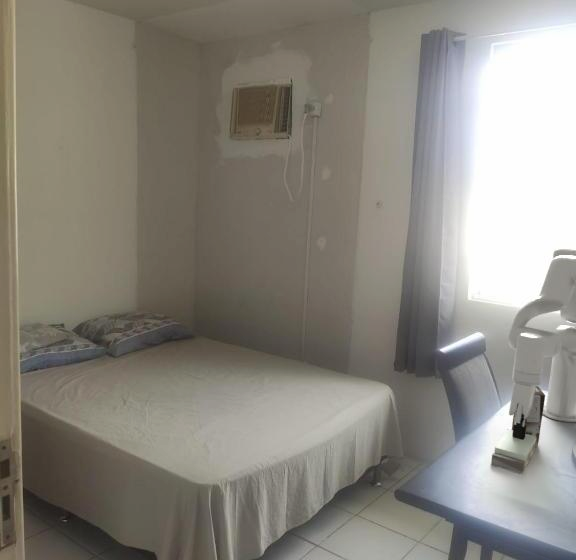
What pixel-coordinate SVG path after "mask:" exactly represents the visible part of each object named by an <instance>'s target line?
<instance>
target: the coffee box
mask: <svg viewBox="0 0 576 560" xmlns="http://www.w3.org/2000/svg"><path fill="white" fill-rule="evenodd" d="M545 400H546V395H545V393H544V392H543V391H542V389H541V388H540V387H539V385H538V386H536V388H535V396H534V403H533V408H532V411H531V413H530V415H529V416H528V417H527V423H526V425H527V427H526V434H529V435H533V436H536V442H535V447H536V448H538V447H539V442H540V436H541V435H540V434H541V428H542V427H541V426H542V422H543V421H542V419H543V408H544V406H545ZM512 416H513V417H512V423H511V424H512V425H511V430H513V427H514V421H515V413H514V414H513V415H512Z"/></svg>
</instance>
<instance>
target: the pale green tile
mask: <svg viewBox="0 0 576 560" xmlns="http://www.w3.org/2000/svg"><path fill="white" fill-rule="evenodd" d="M512 434H513V430H512V429H506V431H505V432H504V434H503V435H502V436H501V438H500V440H499V441H498V443H497V444H496V445H495V447H494V453H498V454H501V455H505V456H508V457H512V458H515V459H519V460H522V461H526V459H527V457H528V455H529V453H530V451H531V449H532V447H533V446H534V444H535V442H536V436H533V435H529V434H525V438H524V440H521V439H518V438H514V437H512Z"/></svg>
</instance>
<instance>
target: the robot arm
mask: <svg viewBox="0 0 576 560" xmlns="http://www.w3.org/2000/svg"><path fill="white" fill-rule="evenodd" d="M552 257H553V258H552V261H550V264H549V267H548V270H547V272H546V276H545V278H544V282H543V285H542V287H541V290H540V293H539V295H538V297H536V298H534V299H532V300H530V301H529V302H527V303H526V304H524V306H522V308H521V309H520V310H519V311H518V312H517V313H516V315H515V317H514V319H513V322H512V325H511V328H510V330H509V334H508V340H507V341H508V345H509V347H510V348H511V349H513V350H515V351H514V352H515V353H514V354H515V355H514V361H513V362H514V363H513V369H512V378H511V380H512V381H513V382H514V383H513V387H512V393H511V397H510V398H511V399H510V406H509V410H508V415H509V416H513V415H514V413H515V421H514V427H513V434H512V437H514V438H518V439H521V440H524V438H525V434H526V427H527V425H526V423H527V417H528V416H529V415H530V413H531V411H532V408H533V403H534V396H535V388H536V386H538V387H539V386H540V385H541V384H542V383H541V382H542V374H543V367H544V360H545V359H550V358H552V360H551V361H552V362H551V367H550V376H549V381H548V382H549V383H548V389H547V397H546V405H544V408H543V414H542V416H545V417H547V418H549V419H552V420H555V421H558V422H559V421H560V422H566V423H576V326H574V325H559V326H558V327H556V328H554V331H547V330H543V329H538V328H533V327H529V326H526V325H527V324H528V323H529V322H530V321H531V320H532V319H534V318H535V317H538V316H540V315H544V314H549V313H553V312H558V311H560V317H561V320H563V321H564V322H566V323H570V324H575V325H576V246H566V245H565V246H558V247H556V249H554V251H553V255H552Z"/></svg>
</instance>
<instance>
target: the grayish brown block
mask: <svg viewBox="0 0 576 560" xmlns="http://www.w3.org/2000/svg"><path fill="white" fill-rule="evenodd" d="M534 453H535V444H534V446H533V447H532V449H531V451H530V453H529V455H528V457H527V459H526V461H522V460H519V459H515V458H512V457H508V456H505V455H501V454H498V453H495V452H493V453H492V455H491V461H490V466H493V467H496V468H499V469H502V470H507V471H510V472H513V473H517V474H520V475H523V473H524V471H525V469H526V467H527V465H528V464H529V462H530V461H531V458H532V457H533V454H534Z"/></svg>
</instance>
